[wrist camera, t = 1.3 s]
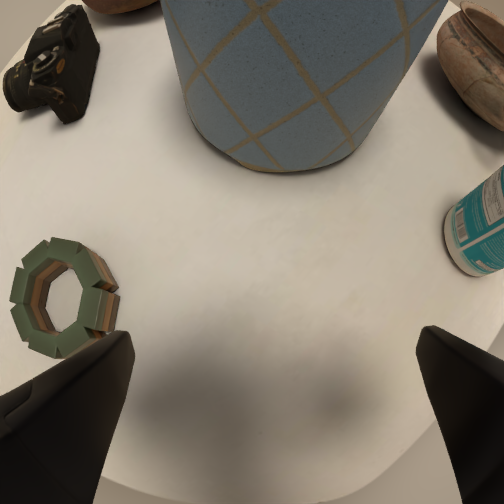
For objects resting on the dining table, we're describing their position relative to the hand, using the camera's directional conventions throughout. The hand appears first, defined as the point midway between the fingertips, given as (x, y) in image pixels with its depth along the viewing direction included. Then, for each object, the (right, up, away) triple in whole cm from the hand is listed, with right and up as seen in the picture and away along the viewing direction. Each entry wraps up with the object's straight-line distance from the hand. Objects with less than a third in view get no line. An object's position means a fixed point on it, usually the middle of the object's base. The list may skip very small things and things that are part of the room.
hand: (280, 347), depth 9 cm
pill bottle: (+20, +4, +16) cm, 26 cm away
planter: (+2, +17, +19) cm, 26 cm away
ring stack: (-15, -1, +13) cm, 20 cm away
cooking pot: (+30, +24, +22) cm, 44 cm away
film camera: (-24, +22, +20) cm, 38 cm away
